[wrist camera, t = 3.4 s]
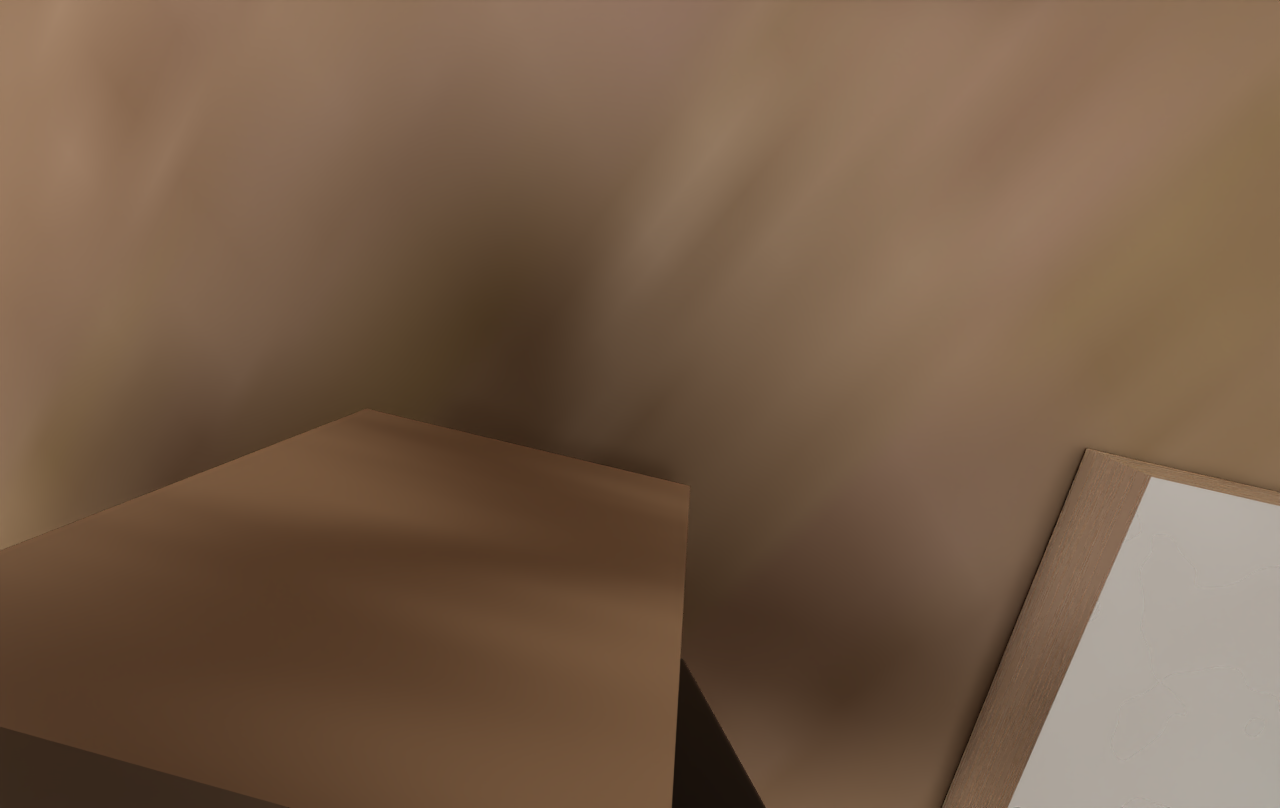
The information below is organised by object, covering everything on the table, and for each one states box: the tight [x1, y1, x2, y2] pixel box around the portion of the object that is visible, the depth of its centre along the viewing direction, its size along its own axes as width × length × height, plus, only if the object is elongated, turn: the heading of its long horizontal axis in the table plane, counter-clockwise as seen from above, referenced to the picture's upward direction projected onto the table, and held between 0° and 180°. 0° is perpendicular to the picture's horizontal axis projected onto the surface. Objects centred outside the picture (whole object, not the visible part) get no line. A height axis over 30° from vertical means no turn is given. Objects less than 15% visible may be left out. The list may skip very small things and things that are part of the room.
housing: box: [0, 409, 690, 808], centre depth 6 cm, size 5×5×7 cm
